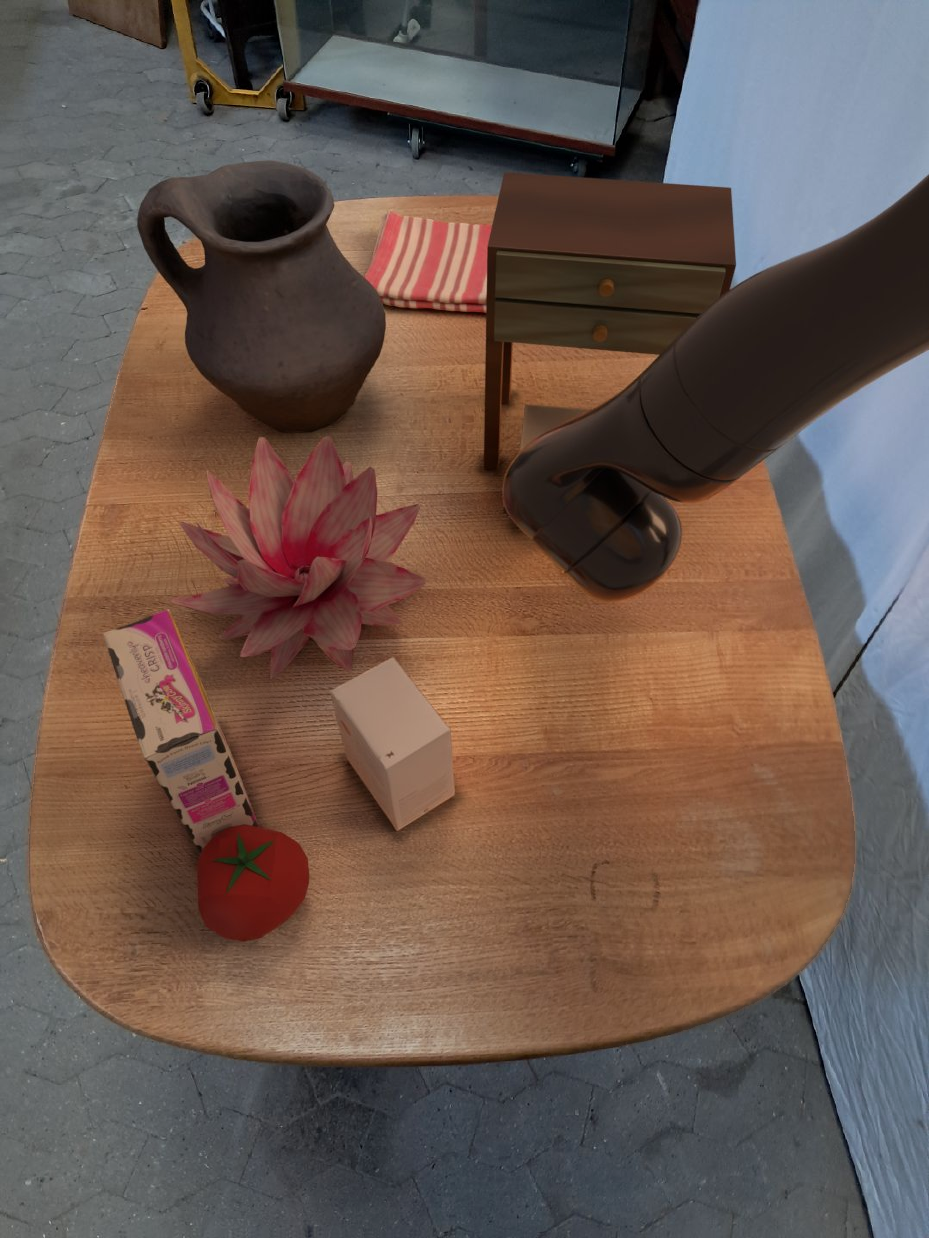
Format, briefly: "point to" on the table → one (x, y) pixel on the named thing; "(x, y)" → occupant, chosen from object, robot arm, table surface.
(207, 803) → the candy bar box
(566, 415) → the storage box
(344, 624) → the decorative flower
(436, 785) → the small box
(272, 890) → the tomato
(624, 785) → the table surface
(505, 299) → the drawer unit
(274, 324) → the pitcher
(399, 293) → the dish towel
